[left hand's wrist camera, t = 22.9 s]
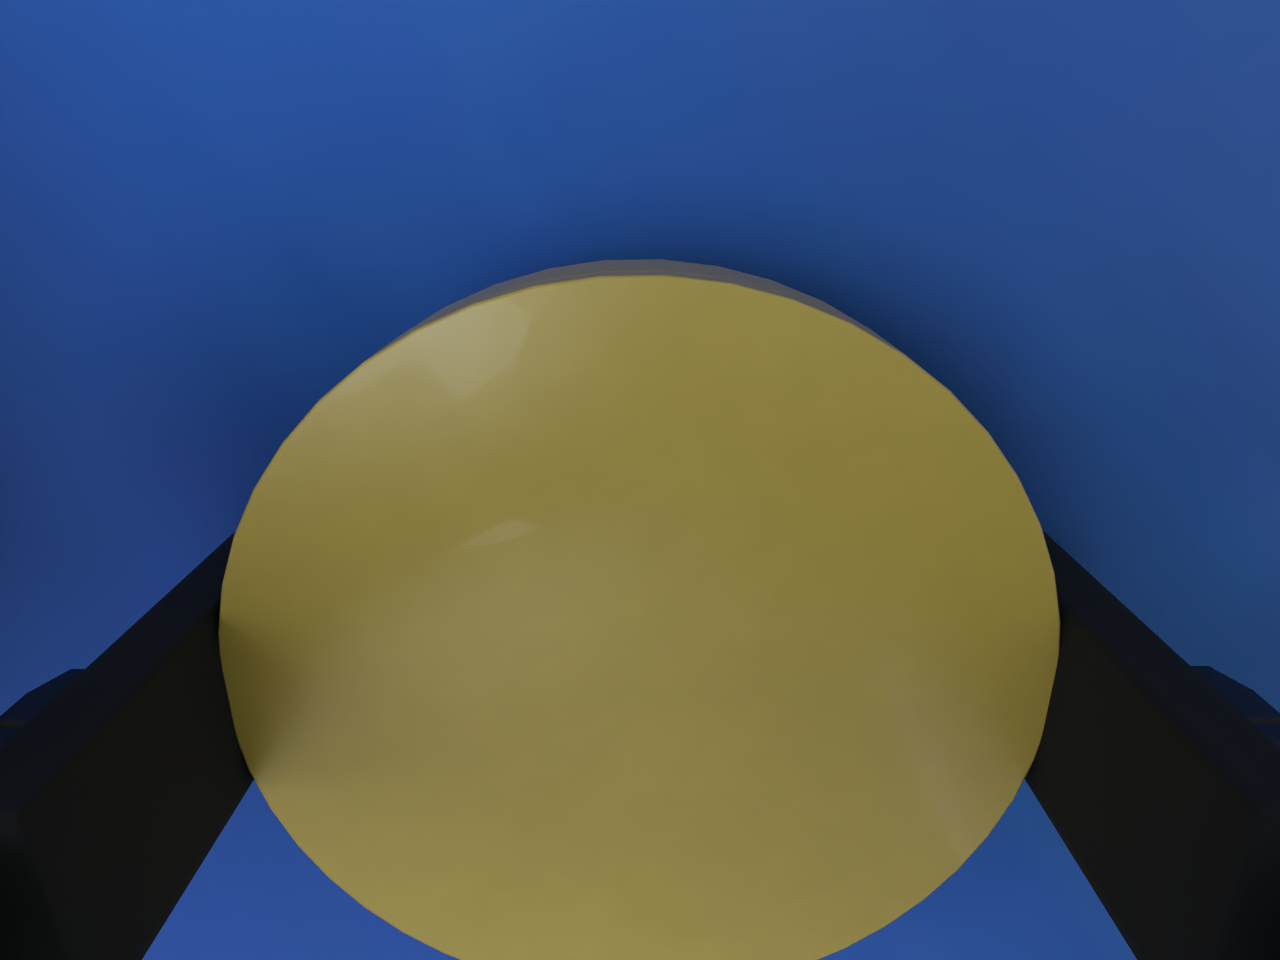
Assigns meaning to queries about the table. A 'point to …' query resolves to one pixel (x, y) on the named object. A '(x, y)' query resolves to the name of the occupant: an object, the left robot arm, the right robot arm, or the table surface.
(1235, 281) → the table surface
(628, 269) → the lid
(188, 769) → the left robot arm
